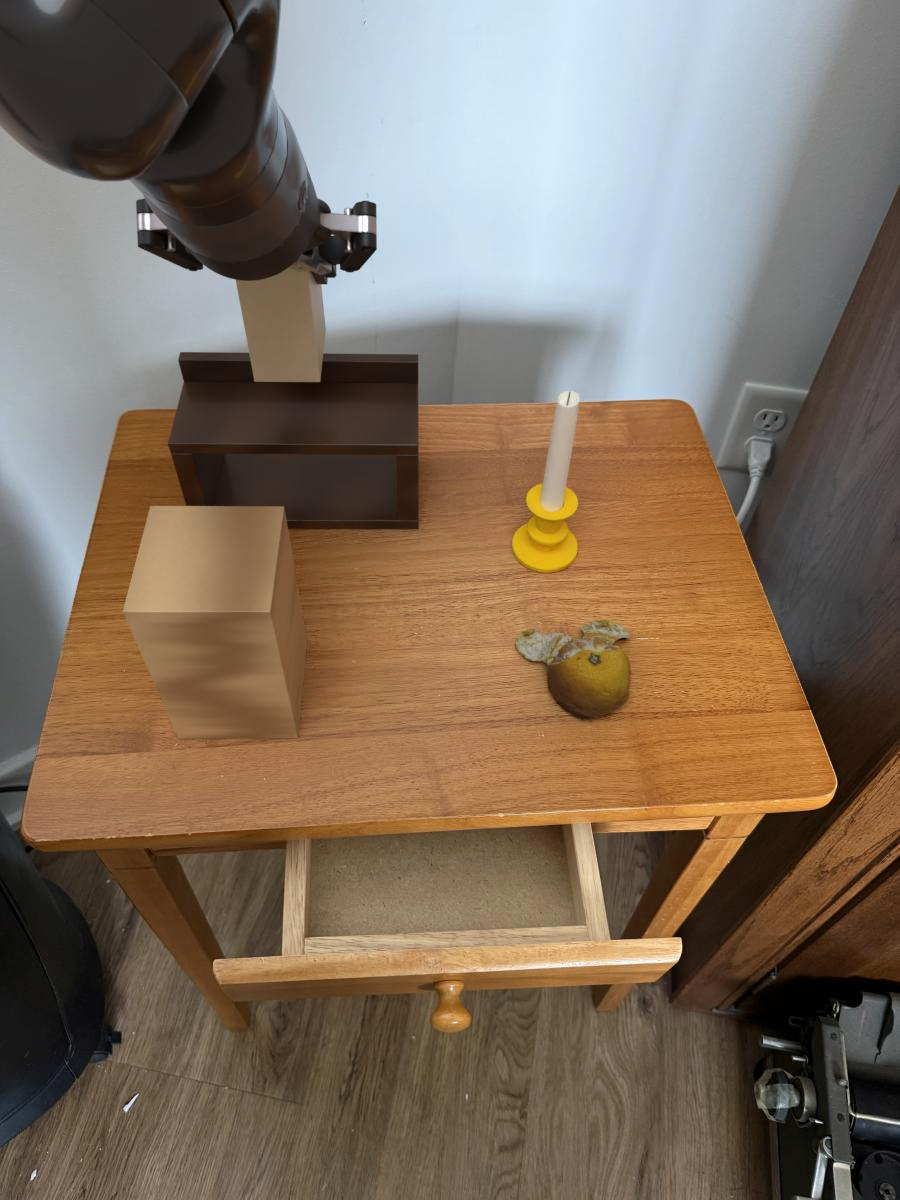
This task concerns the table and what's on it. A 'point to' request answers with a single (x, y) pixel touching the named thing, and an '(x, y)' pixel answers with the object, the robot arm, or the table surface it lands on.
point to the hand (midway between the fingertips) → (283, 268)
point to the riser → (220, 620)
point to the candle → (552, 500)
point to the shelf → (302, 440)
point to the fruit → (583, 667)
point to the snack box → (284, 326)
